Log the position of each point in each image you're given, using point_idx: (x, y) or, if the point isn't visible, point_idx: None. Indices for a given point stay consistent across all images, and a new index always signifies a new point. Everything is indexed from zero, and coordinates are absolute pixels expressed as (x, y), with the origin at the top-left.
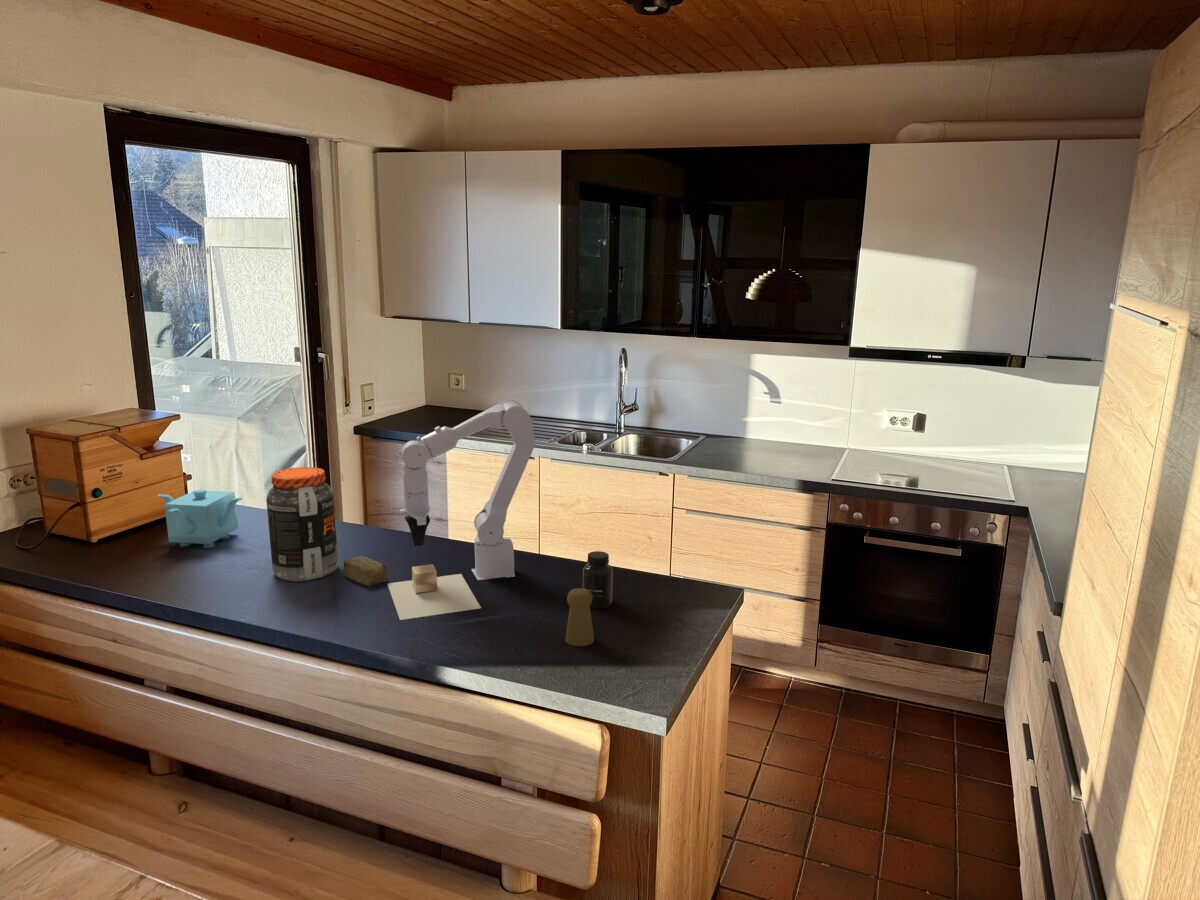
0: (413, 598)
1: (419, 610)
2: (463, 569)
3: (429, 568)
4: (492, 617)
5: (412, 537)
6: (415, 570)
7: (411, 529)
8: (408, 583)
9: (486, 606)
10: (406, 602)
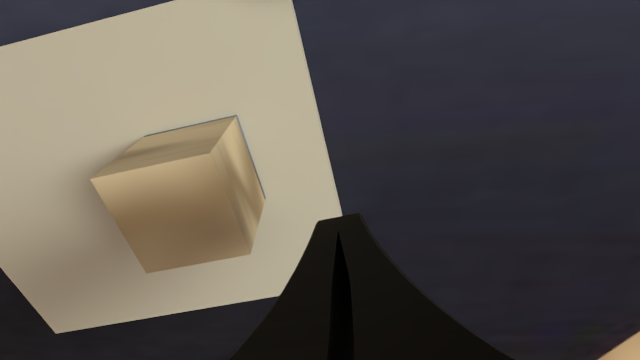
0: (95, 127)
1: None
2: (423, 280)
3: (185, 242)
4: (21, 348)
5: (302, 263)
6: (147, 177)
7: (236, 356)
8: (276, 91)
9: (96, 337)
10: (45, 100)
